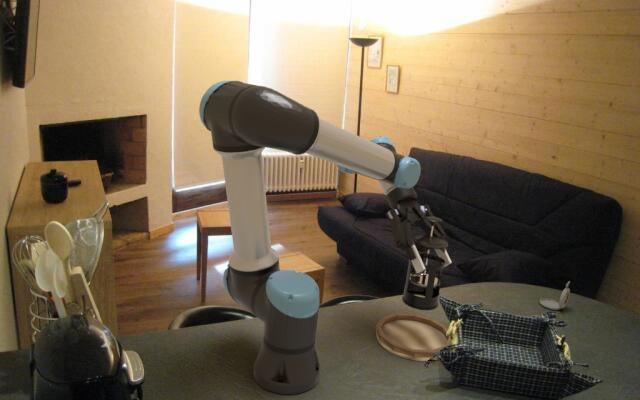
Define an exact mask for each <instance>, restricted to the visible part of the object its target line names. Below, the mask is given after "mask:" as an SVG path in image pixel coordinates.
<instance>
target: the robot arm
mask: <svg viewBox="0 0 640 400" xmlns="http://www.w3.org/2000/svg"><path fill="white" fill-rule="evenodd" d="M198 113H199V118H200V121H201V124H202V125H203V126H204V127H205V129H206V130H208V131H209V132H210V133H211V141H212V148H213V151H215V152H216V153H217V154H218V155H220V156H221V160H222V161H221V162H222V168H223V176H224V177H223V178H224V183H225V190H226V193H225V194H226V200H227V206H228V213H229V221H230V222H229V223H230V230H231V238H232V244H233V253H231V255H230V256H229V257H228V263H227V268H226V269H224V272H223V286H224V290H225V292H226V293H227V295H229V297H230V298H231V299H232V300H233V301H234V302H235V303H236V304H237V305H239V306H241V307H243V309H245V310H247V311H248V312H249V313H251V314H252V315H253V316H255V317H256V318H257V319H259V320H260V321H261V322H263V325H264V326H263V339H262V340H263V341H262V344H261V346H260V348H259V351H258V354H257V356H256V358H255V359H254V362H253V378H254V380H255V382H256V383H257V384H258V385H259V386H261V387H262V388H263V389H265V390H267V391H270V392H272V393H276V394H280V395H296V394H301V393H305V392H308V391H309V390H311V389H313V388H314V387H315V386H316V385H317V384H318V383H319V380H320V375H321V365H320V364H321V363H320V361H319V358H318V352H317V350H316V346H315V345H316V335H317V327H318V321H319V319H318V318H319V310H320V309H319V308H320V304H321V303H320V300H321V299H320V289H319V286H318V283H317V281H315V279H314V278H312V276H309V275H308V274H306V273H304V272H301V271H298V272H297V271H296V270H294V269H281V267H280V257H279V254H278V251H277V250H275V249H274V248H272V242H271V235H270V234H271V233H270V225H269V213H268V204H267V196H266V195H267V194H266V193H267V192H266V184H265V174H264V164H263V151H264V150H265V148H268V149H273V150H278V151H283V152H287V153H290V154H293V155H296V156H301V155H304V154H308V155H310V156H312V157H315V158H319V159H321V160H323V161H326V162H329V163H333V164H335V165H336V166H337V168H338V170H339V171H340V172H342V173H344V174H349V175H353V174H355V175H356V174H357V175H360V176H364V177H366V178H369V179H374V180H376V181H379V182H378V183H379V184H380V186H381V189H382V190H383V193H384V195H385V196H386V197H385V198H386V200H387V202H388V204H389V207H390V208H391V209H390V210H389V211H388V212H386V213H385V215H386V218H387V220H388V221H389V224H390V228H391V231H392V232H391V233H392V237H393V240H394V243H395V244H394V245H395V247H396V248H397V249H400V251H404V252H405V254H406V255H407V258H408V261H409V260H410V261H412V264H413V266H414V268H415V270H416V273H420V272H421V273H423V272H424V271H425V269H426V268H425V266H424V265H425V263H424V261H423V262H422V259H421V257H420V255H419V253H418V251H417V248H416V246H415V245H413V244H412V243H413V241H412V228H411V223H413V224H415V225H416V226H419V228H420V229H421V230H422V231H423V232H424V233H425V235H428V236H431V230H432V226H431V221H428V220H426V219H425V218H426V217H435V215H434V214H433V213H432V211H431V208H430V205H429V204H427V203H426V204H425V205H420V204H419V202H418V199H417V198H418V195H417V192H416V191H415V189H414V187H415V186H416V184H417V183H418V181H419V178H420V176H421V168H422V167H421V164H420V162H419V160H417V159H416V158H413V157H410V156H408V155H402V154H400V153H398V152H397V149H396V147H395V146H394V144H393V142H392V140H391V139H390V137H388V136H385V135H380V136H376V137H373V138H372V139H370V140H368V139H366V138H364V137H362V136H359V135H357V134H355V133H353V132H351V131H348V130H346V129H344V128H341V127H339V126H337V125H334V124H333V123H330V122H328V121H326V120H323V119H321V118H320V117H319V114H318V112H316V111H315V110H313V109H311V108H309V107H308V106H305V105H304V104H303V103H302V104H301V102H298V101H296V100H294V99H292V98H291V97H289V96H287V95H285V94H283V93H281V92H280V91H278V90H275V89H273V88H271V87H267V86H263V85H256V84H250V83H247V82H243V81H240V80H221V81H218V82H216V83H213V84H212V85H211V86H210V87H209V88H207V90H206V92H205V93H204V94H203V96H202V97H201V100H200V102H199V107H198ZM432 236H434V237H438V238H441V239H443V240H444V239H445V237H447V233H446V231H445V230H444V229H443V227H442V226H441V224H440V222H439V223H437V222H435V226H433V232H432ZM434 251H435V253H436V254H437V255H436V256H438V257H440V258H442V259H443V260H444V261H445V266H444V268H445V267H447V266H449V265H450V264H452V263H453V262H452V259H451V258H450V256H449V254H448V252H447V251H448V249H447V248H446V250H445V253H443V252H442V251H441V250H440V249H434ZM413 266H412V267H413Z"/></svg>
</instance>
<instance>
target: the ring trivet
mask: <svg viewBox="0 0 640 400" xmlns="http://www.w3.org/2000/svg"><path fill="white" fill-rule="evenodd" d="M448 329H449V327H447V326H445V325H444V324H443V323H440V322H439V321H438V320H436V319H434V318H432V317H427V316H424V315H420V314H417V313H407V312H405V313H404V312H403V313H401V312H395V313H392V314H388V315H385V316H382V317H381V318H380V320H379V321H378V322H377V323H376V324H375V338H376V340H377V342H378V343H379V345H380V346H381V347H382V348H383V349H385V350H386V351H388V352H389V353H391V354H392V355H394V356H397V357H399V358H403V359H406V360H410V361H415V362H416V361H417V362H429V361H428V360H429V359H430V358H432V357H433V355H435V354H438V352H439V351H440V350H441V349H442V348H444V347H446V346H449V345H450V341H451V338H450V336H446V332H447V330H448ZM434 360H435V361H439V360H438V359H437V358H436V357H435V358H434Z"/></svg>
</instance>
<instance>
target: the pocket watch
mask: <svg viewBox="0 0 640 400" xmlns="http://www.w3.org/2000/svg"><path fill="white" fill-rule="evenodd" d="M570 283H571V281H570V280H569V281H568V282H567V283H566V284H565V288H564V289H563V290H562V291H561V295H560V297H559V301H557V300H555V299H552V298H547V297H546V298H540V299H539V304H540V305H541V306H542V307H544V308H546V309H549V310H554V311H558V310H562V309H564V308H565V307H566V305H567V303H568V301H569V298H570V294H571V293H570V292H571V289H570V288H569V285H570Z"/></svg>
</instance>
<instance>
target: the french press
mask: <svg viewBox="0 0 640 400" xmlns="http://www.w3.org/2000/svg"><path fill="white" fill-rule="evenodd" d="M425 219H426V220H428V221H431V226H432V230H431V236H428V235H427V234H420V235H417V234H416V235H414V236H413V237H411V241H412V243H413V244H412V245H415V246H416V248H417V251H418V253H419V255H420V257H421V259H422V262H423V263H424V259H425V260H426V261H425V264H424V266H425V268H426V269H425V270H423V272H420V273H416V270H415V268H414V266H413V264H412V261H410V260H409V259H408V267H407V271H406V279H405V285H404V290H403V293H402V294H403V295H402V297H401V300H402V302H403V303H404V304H405V305H407V306H408V307H411V308H412V309H415V310H420V311H433V310H436V309H437V308H438V307H439V304H440V303H439V299H440V290H441V284H442V278H443V274H444V273H443V272H444V268H445V267H446V266H445V261H444V260H443V259H442V258H440V257H438V255H436V254H432V253H430V250H435V249H440V250H441V251H442V252H443V253H445V250H446V249H447V248H448V247H449V242H448V241H446V240H445V239H444V238H443V239H441V238H438V237H436V236H435V237H434V236H432V232H433V226H435V222H437V223H439V224H440V223H443V219H442V218H440V217H436V216H434V217H426V218H425ZM429 259H430V260H434V261H435V262H438V263H440V264H439V265H429V264H428V262H429ZM444 266H445V267H444ZM427 271H428V273H426V272H427ZM437 272H438V274H437ZM436 274H437V275H438V276H437V277H436ZM421 296H422V297H421Z"/></svg>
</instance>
